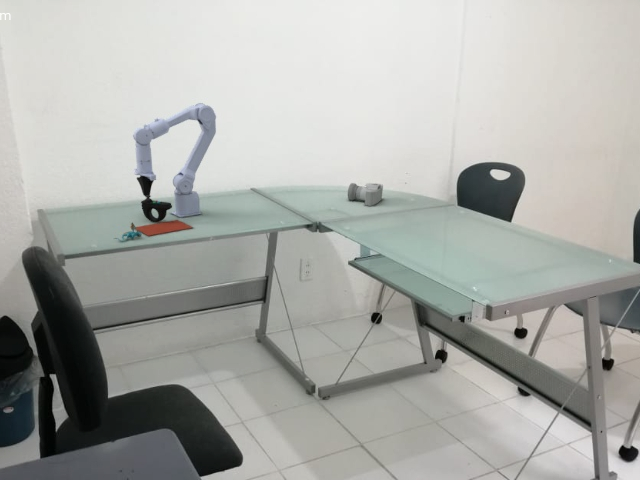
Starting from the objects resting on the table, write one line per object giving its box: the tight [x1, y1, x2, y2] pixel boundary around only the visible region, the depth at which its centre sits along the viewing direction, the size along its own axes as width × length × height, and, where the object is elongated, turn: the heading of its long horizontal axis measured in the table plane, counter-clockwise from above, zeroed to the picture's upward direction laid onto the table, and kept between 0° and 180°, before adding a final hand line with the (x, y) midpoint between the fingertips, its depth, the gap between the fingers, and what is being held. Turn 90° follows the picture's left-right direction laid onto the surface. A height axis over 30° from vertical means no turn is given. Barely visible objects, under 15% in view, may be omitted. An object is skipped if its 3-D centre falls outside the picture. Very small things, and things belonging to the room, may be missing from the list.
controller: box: [140, 194, 173, 223], centre depth 232 cm, size 4×12×10 cm, turn 72°
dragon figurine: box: [113, 221, 143, 243], centre depth 212 cm, size 7×7×8 cm
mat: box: [134, 219, 194, 237], centre depth 226 cm, size 18×12×1 cm, turn 128°
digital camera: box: [347, 182, 384, 207], centre depth 270 cm, size 17×14×10 cm
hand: (146, 195), depth 236 cm, fingers closed
